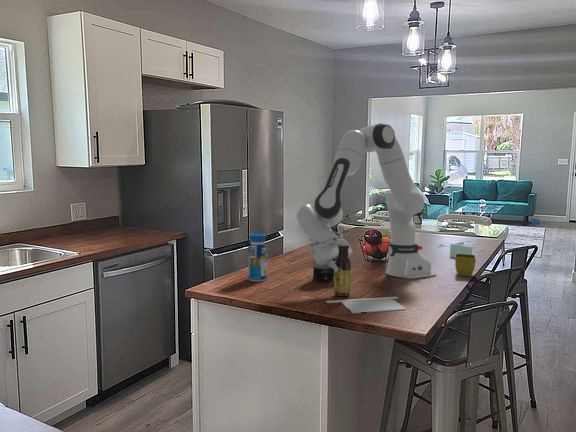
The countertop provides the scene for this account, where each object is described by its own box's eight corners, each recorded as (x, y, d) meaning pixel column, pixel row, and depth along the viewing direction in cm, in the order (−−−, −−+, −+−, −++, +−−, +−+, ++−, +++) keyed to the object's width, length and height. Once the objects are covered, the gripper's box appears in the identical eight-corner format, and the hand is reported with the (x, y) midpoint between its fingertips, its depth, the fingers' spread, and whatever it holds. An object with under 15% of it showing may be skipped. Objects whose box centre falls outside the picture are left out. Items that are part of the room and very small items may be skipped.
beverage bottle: (245, 278, 218) (245, 233, 216) (263, 276, 222) (263, 232, 219) (251, 282, 211) (251, 236, 208) (270, 280, 214) (270, 235, 211)
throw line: (396, 297, 190) (396, 296, 190) (398, 298, 189) (398, 297, 189) (326, 301, 184) (326, 300, 184) (327, 303, 183) (327, 302, 183)
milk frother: (319, 284, 209) (319, 249, 207) (301, 276, 223) (301, 243, 221) (347, 280, 215) (347, 246, 213) (328, 272, 229) (328, 241, 227)
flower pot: (474, 273, 228) (475, 254, 227) (475, 278, 220) (476, 258, 219) (454, 272, 231) (455, 253, 230) (454, 276, 223) (455, 256, 222)
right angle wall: (470, 261, 257) (471, 247, 256) (449, 257, 266) (450, 243, 265) (482, 258, 265) (482, 244, 264) (461, 254, 274) (462, 241, 273)
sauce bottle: (332, 292, 195) (333, 242, 193) (348, 292, 196) (349, 242, 193) (335, 297, 189) (336, 245, 186) (351, 297, 189) (353, 245, 187)
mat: (392, 299, 187) (392, 298, 187) (406, 309, 175) (406, 308, 175) (341, 303, 183) (341, 302, 183) (352, 313, 171) (352, 312, 171)
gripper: (311, 239, 186) (332, 268, 181) (343, 232, 201) (363, 259, 196) (302, 249, 190) (322, 278, 184) (334, 242, 205) (353, 268, 200)
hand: (343, 268), depth 190 cm, fingers closed on sauce bottle, 6 cm apart
